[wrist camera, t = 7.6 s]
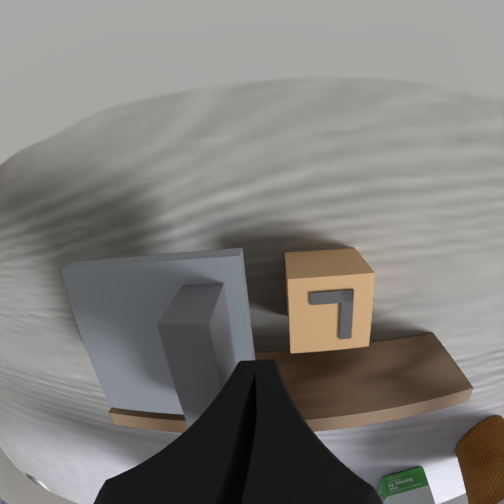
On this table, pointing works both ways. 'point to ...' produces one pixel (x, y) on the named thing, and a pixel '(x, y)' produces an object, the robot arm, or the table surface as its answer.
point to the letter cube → (328, 300)
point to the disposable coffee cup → (483, 462)
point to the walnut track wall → (351, 385)
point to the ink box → (406, 488)
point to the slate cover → (163, 326)
